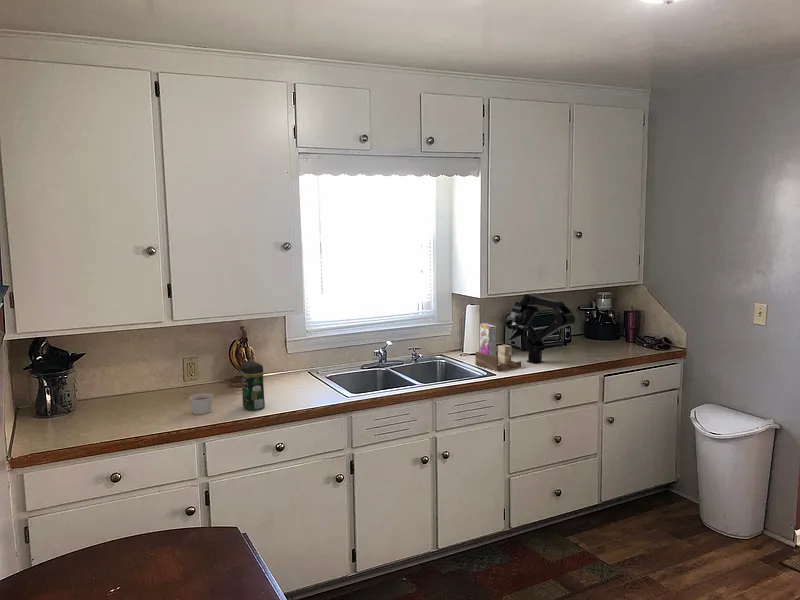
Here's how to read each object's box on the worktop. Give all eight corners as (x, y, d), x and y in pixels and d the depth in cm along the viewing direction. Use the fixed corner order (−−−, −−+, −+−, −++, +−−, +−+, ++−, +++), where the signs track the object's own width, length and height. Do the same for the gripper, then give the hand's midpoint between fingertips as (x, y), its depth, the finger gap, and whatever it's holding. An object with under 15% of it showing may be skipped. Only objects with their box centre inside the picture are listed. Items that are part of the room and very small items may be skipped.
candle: (218, 411, 258) (217, 395, 257) (199, 417, 250) (199, 401, 249) (203, 407, 263) (202, 392, 262) (184, 413, 255) (184, 397, 255)
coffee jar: (240, 406, 264) (238, 361, 262) (259, 403, 268) (257, 358, 266) (247, 412, 256) (245, 365, 253) (267, 409, 260) (265, 363, 257)
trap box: (499, 361, 340) (499, 348, 339) (521, 367, 326) (521, 353, 326) (475, 365, 331) (475, 351, 330) (496, 371, 318) (496, 357, 317)
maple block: (504, 359, 334) (504, 344, 333) (511, 361, 330) (511, 346, 329) (497, 361, 332) (498, 345, 330) (504, 362, 327) (504, 347, 326)
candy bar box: (478, 353, 360) (478, 323, 358) (486, 352, 362) (486, 323, 360) (488, 357, 350) (488, 326, 348) (496, 356, 352) (497, 326, 350)
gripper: (506, 303, 340) (489, 326, 336) (532, 309, 325) (514, 333, 321) (517, 316, 346) (500, 339, 342) (542, 323, 331) (525, 347, 326)
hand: (509, 339), depth 333 cm, fingers closed
